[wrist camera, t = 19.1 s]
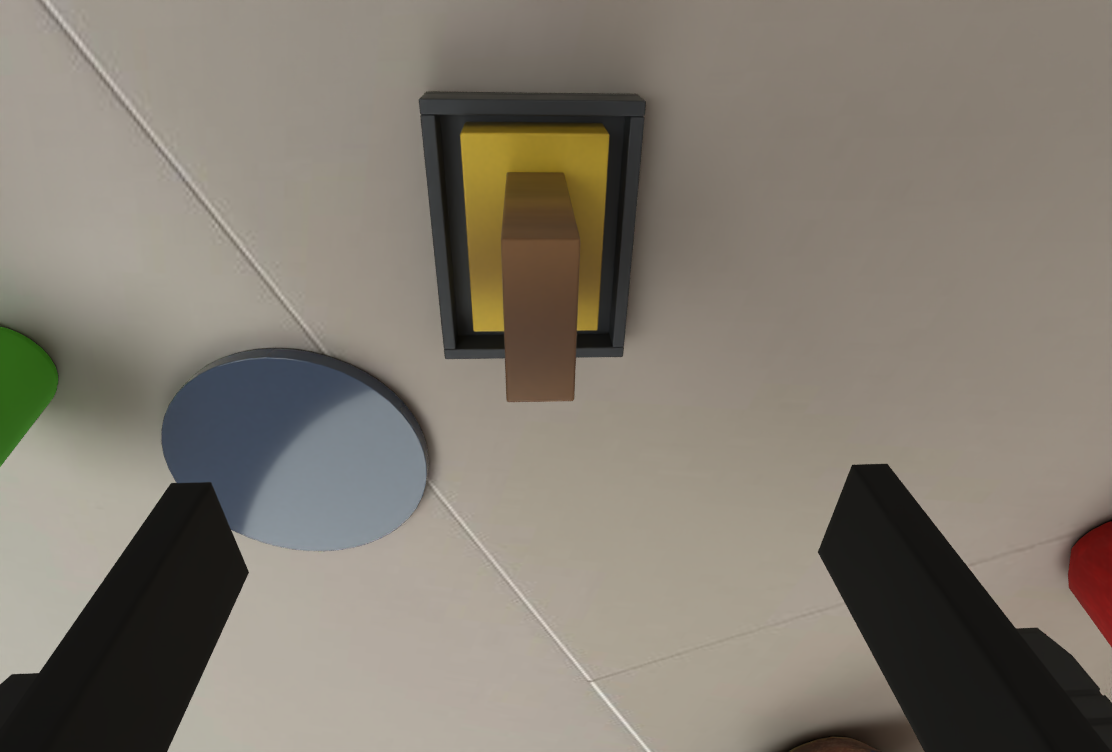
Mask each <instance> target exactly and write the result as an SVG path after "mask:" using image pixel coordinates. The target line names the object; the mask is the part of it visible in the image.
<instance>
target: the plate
mask: <svg viewBox="0 0 1112 752" xmlns="http://www.w3.org/2000/svg"><path fill="white" fill-rule="evenodd" d="M162 448H163V453H164V457H165V460H166V463H167V465H168V468H169V470H170V472H171V474H172V476H173V477H174V479H175V481H176V482H177V483H199V482H211V483H212V486H213V488H214V490H215V493H216V495H217V498H218V500H219V502H220V505H221V507H222V509H223V512H224V514H225V517H226V519H227V521H228V524H229V526H230V529H231V530H233V531H235V532H237V533H239V534H242V535H244V536H246V537H248V538H251V539H254V540H257V541H260V542H262V543H266V544H270V545H274V546H277V547H283V548H288V549H294V550H304V551H334V550H343V549H349V548H354V547H358V546H361V545H365V544H368V543H370V542H373V541H376V540H378V539H380V538H382V537H384V536H386V535H388V534H390V533H391V532H393V531H394V530H395V529H397V528H398V527H400V526H401V525H402V524H403V523H404V522H405V521H406V520H407V519H408V518H409V517H410V516H411V515H412V513H413V512H414V511H415V509H416V508H417V506H418V504H419V502H420V500H421V499H422V496H423V493H424V490H425V487H426V482H427V477H428V469H429V454H428V449H427V444H426V440H425V437H424V435H423V432H422V430H421V427H420V426H419V424H418V422H417V420H416V419H415V417H414V415H413V414H412V413H411V411H410V410H409V409H408V407H407V406H406V405H405V403H404V402H403V401H402V400H401V399H400V398H399V397H398V396H397V395H396V394H395V393H394V392H393V391H391V390H390V389H389V388H388V387H386V386H385V385H384V384H383V383H381V382H380V381H379V380H377V379H375V378H374V377H372V376H371V375H369V374H368V373H366V372H364V371H362V370H360V369H358V368H356V367H354V366H352V365H350V364H348V363H346V362H343V361H340V360H337V359H335V358H332V357H329V356H325V355H321V354H317V353H314V352H309V351H302V350H295V349H279V348H270V349H255V350H250V351H245V352H239V353H236V354H233V355H229V356H226V357H223V358H221V359H219V360H217V361H215V362H213V363H211V364H209V365H207V366H205V367H204V368H202V369H201V370H200V371H198V372H197V373H195V374H194V375H193V376H192V377H191V378H190V379H189V380H188V381H187V382H186V383H185V384H184V385H183V387H182V388H181V389H180V390H179V391H178V392H177V394H176V395H175V397H174V398H173V400H172V401H171V403H170V404H169V406H168V409H167V411H166V413H165V416H164V420H163V425H162Z"/></svg>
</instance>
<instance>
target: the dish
mask: <svg viewBox="0 0 1112 752" xmlns="http://www.w3.org/2000/svg"><path fill="white" fill-rule="evenodd" d="M419 107H420V114H421V116H420V117H421V127H422V137H423V147H424V157H425V167H426V176H427V186H428V196H429V206H430V216H431V226H432V236H433V245H434V255H435V265H436V275H437V285H438V295H439V305H440V315H441V324H442V334H443V344H444V354H445V359H488V358H505V343H504V331H478V332H475V331H474V330H473V316H472V302H471V287H470V272H469V258H468V243H467V229H466V214H465V199H464V185H463V170H462V156H461V141H460V133H461V131H462V129H463V126H464V124H465V122H554V123H602V124H603V125H604V127H605V129H606V130H607V132H608V133H609V136H610V137H609V153H608V169H607V185H606V202H605V218H604V234H603V250H602V267H601V283H600V299H599V315H598V329H597V330H581V331H577V341H576V357H623V350H624V347H623V346H624V339H625V328H626V317H627V306H628V295H629V284H630V273H631V262H632V250H633V239H634V228H635V217H636V206H637V195H638V184H639V173H640V162H641V151H642V140H643V129H644V115H645V107H646V101H645V100H643V99H642V98H641V97H640V96H639V95H638V94H599V93H505V92H425V93H424V95H423V96H422V97H421V98H420V99H419Z"/></svg>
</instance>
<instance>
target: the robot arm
mask: <svg viewBox="0 0 1112 752" xmlns="http://www.w3.org/2000/svg"><path fill="white" fill-rule="evenodd" d="M818 553H819V555H820V557H821V559H822V561H823V562H824V564H825V566H826V568H827V570H828V572H829V574H830V576H831V577H832V579H833V581H834V583H835V585H836V587H837V589H838V591H839V592H840V594H841V596H842V598H843V600H844V602H845V604H846V605H847V607H848V609H849V611H850V613H851V615H852V617H853V619H854V620H855V622H856V624H857V626H858V628H859V630H860V632H861V633H862V635H863V637H864V639H865V641H866V643H867V645H868V647H869V648H870V650H871V652H872V654H873V656H874V658H875V660H876V662H877V663H878V665H879V667H880V669H881V671H882V673H883V675H884V676H885V678H886V680H887V682H888V684H889V686H890V688H891V690H892V691H893V693H894V695H895V697H896V699H897V701H898V703H899V705H900V706H901V708H902V710H903V712H904V714H905V716H906V718H907V719H908V721H909V723H910V725H911V727H912V729H913V731H914V733H915V734H916V736H917V738H918V740H919V742H920V744H921V746H922V748H923V749H924V751H925V752H1112V703H1111V702H1110V700H1109V699H1108V698H1107V697H1106V696H1105V695H1104V696H1103V695H1102V694H1101V693H1100V691H1099V690H1100V688H1099V687H1098V686H1097V685H1096V683H1095V682H1094V681H1093V680H1092V679H1091V677H1090V676H1089V675H1088V674H1087V673H1086V671H1085V670H1084V669H1083V668H1082V667H1081V665H1080V664H1079V663H1078V662H1077V661H1076V659H1075V658H1074V657H1073V656H1072V655H1071V654H1070V653H1068V652H1067V651H1066V650H1065V649H1063V648H1062V647H1061V646H1060V645H1058V644H1057V643H1056V642H1055V641H1053V640H1052V639H1051V638H1050V637H1048V636H1047V635H1046V634H1044V633H1043V632H1042V631H1041V630H1039V629H1038V628H1019V629H1016V628H1015V627H1014V626H1013V624H1012V623H1011V622H1010V621H1009V619H1008V618H1007V617H1006V615H1005V614H1004V613H1003V612H1002V610H1001V609H1000V608H999V606H998V605H997V604H996V603H995V601H994V600H993V599H992V598H991V596H990V595H989V594H988V592H987V591H986V590H985V589H984V587H983V586H982V585H981V583H980V582H979V581H978V580H977V578H976V577H975V576H974V574H973V573H972V572H971V571H970V569H969V568H968V567H967V565H966V564H965V563H964V562H963V560H962V559H961V558H960V556H959V555H958V554H957V553H956V551H955V550H954V549H953V548H952V546H951V545H950V544H949V542H948V541H947V540H946V539H945V537H944V536H943V535H942V533H941V532H940V531H939V530H938V528H937V527H936V526H935V524H934V523H933V522H932V521H931V519H930V518H929V517H928V515H927V514H926V513H925V512H924V510H923V509H922V508H921V506H920V505H919V504H918V503H917V501H916V500H915V499H914V497H913V496H912V495H911V494H910V492H909V491H908V490H907V489H906V487H905V486H904V485H903V483H902V482H901V481H900V480H899V478H898V477H897V476H896V474H895V473H894V472H893V471H892V469H891V468H890V467H889V465H888V464H863V465H852V467H851V469H850V472H849V474H848V477H847V479H846V482H845V484H844V487H843V490H842V492H841V495H840V497H839V500H838V502H837V505H836V507H835V510H834V513H833V515H832V518H831V520H830V523H829V525H828V528H827V530H826V533H825V536H824V538H823V541H822V543H821V546H820V548H819V551H818ZM248 573H249V572H248V569H247V567H246V564H245V562H244V560H243V557H242V555H241V553H240V550H239V548H238V545H237V543H236V541H235V538H234V536H233V533H232V531H231V529H230V526H229V524H228V521H227V519H226V517H225V514H224V512H223V509H222V507H221V505H220V502H219V500H218V498H217V495H216V493H215V490H214V488H213V486H212V483H211V482H199V483H171V484H170V486H169V487H168V488H167V490H166V491H165V493H164V494H163V496H162V497H161V499H160V500H159V501H158V503H157V504H156V506H155V507H154V509H153V510H152V511H151V513H150V514H149V516H148V517H147V519H146V520H145V522H144V523H143V524H142V526H141V527H140V529H139V530H138V532H137V533H136V534H135V536H134V537H133V539H132V540H131V542H130V543H129V545H128V546H127V547H126V549H125V550H124V552H123V553H122V555H121V556H120V557H119V559H118V560H117V562H116V563H115V565H114V566H113V568H112V569H111V570H110V572H109V573H108V575H107V576H106V578H105V579H104V581H103V582H102V583H101V585H100V586H99V588H98V589H97V591H96V592H95V593H94V595H93V596H92V598H91V599H90V601H89V602H88V604H87V605H86V606H85V608H84V609H83V611H82V612H81V614H80V615H79V616H78V618H77V619H76V621H75V622H74V624H73V625H72V627H71V628H70V629H69V631H68V632H67V634H66V635H65V637H64V638H63V639H62V641H61V642H60V644H59V645H58V647H57V648H56V650H55V651H54V652H53V654H52V655H51V657H50V658H49V660H48V661H47V662H46V664H45V665H44V667H43V668H42V670H41V671H40V673H33V674H12V675H11V676H9V677H8V678H7V679H6V680H5V681H4V682H3V683H1V684H0V752H167V751H168V748H169V746H170V744H171V742H172V740H173V737H174V735H175V733H176V731H177V729H178V727H179V724H180V722H181V720H182V718H183V716H184V713H185V711H186V709H187V707H188V705H189V702H190V700H191V698H192V696H193V694H194V691H195V689H196V687H197V685H198V683H199V681H200V678H201V676H202V674H203V672H204V670H205V667H206V665H207V663H208V661H209V659H210V656H211V654H212V652H213V650H214V648H215V645H216V643H217V641H218V639H219V637H220V635H221V632H222V630H223V628H224V626H225V624H226V621H227V619H228V617H229V615H230V613H231V610H232V608H233V606H234V604H235V602H236V599H237V597H238V595H239V593H240V591H241V589H242V586H243V584H244V582H245V580H246V578H247V575H248Z"/></svg>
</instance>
